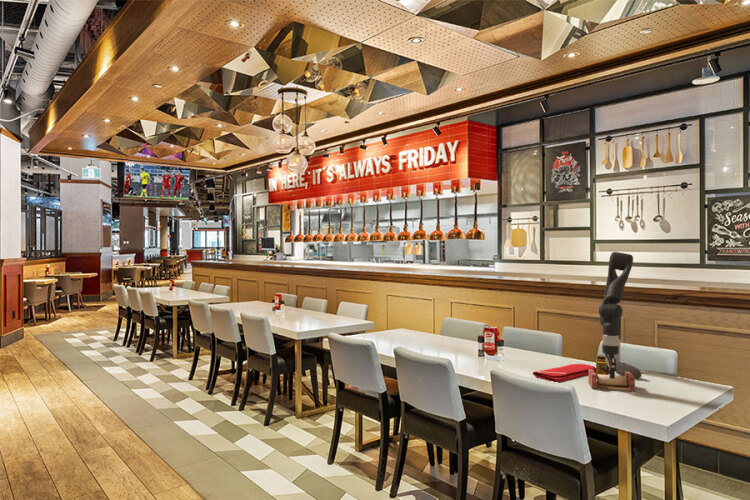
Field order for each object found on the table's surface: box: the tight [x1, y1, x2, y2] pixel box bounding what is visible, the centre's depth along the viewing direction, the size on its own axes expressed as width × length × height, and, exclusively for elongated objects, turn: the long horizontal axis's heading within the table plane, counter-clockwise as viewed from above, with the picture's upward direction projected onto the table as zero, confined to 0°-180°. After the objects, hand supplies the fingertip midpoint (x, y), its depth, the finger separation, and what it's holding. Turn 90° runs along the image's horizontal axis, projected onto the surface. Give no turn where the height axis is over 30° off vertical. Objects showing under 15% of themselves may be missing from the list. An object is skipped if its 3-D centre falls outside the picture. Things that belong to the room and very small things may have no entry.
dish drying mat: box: [532, 363, 596, 383], centre depth 264 cm, size 16×41×4 cm, turn 124°
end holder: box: [587, 369, 636, 393], centre depth 238 cm, size 12×19×7 cm, turn 74°
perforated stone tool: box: [615, 361, 642, 380], centre depth 258 cm, size 15×5×7 cm, turn 22°
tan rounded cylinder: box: [597, 374, 625, 386], centre depth 238 cm, size 12×5×5 cm, turn 74°
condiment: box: [595, 354, 610, 375], centre depth 255 cm, size 7×8×12 cm
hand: (610, 376), depth 239 cm, fingers open, 8 cm apart
